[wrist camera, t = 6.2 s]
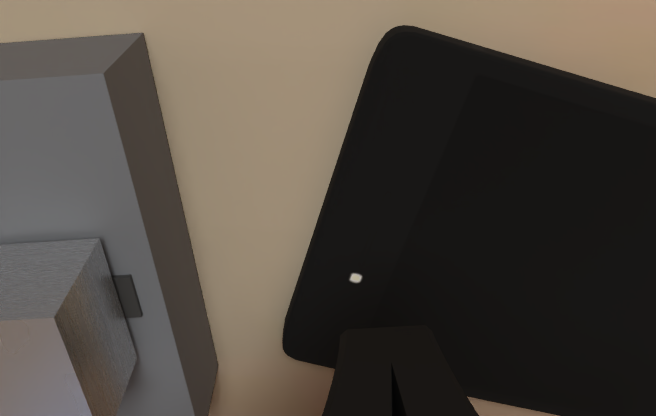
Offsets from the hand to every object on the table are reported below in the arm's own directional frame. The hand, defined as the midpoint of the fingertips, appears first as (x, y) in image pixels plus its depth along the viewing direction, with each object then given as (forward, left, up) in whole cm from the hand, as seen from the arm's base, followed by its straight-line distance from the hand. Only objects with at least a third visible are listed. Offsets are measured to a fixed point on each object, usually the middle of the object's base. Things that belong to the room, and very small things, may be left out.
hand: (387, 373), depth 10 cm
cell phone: (+5, -7, -6) cm, 10 cm away
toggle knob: (-5, +3, -2) cm, 7 cm away
